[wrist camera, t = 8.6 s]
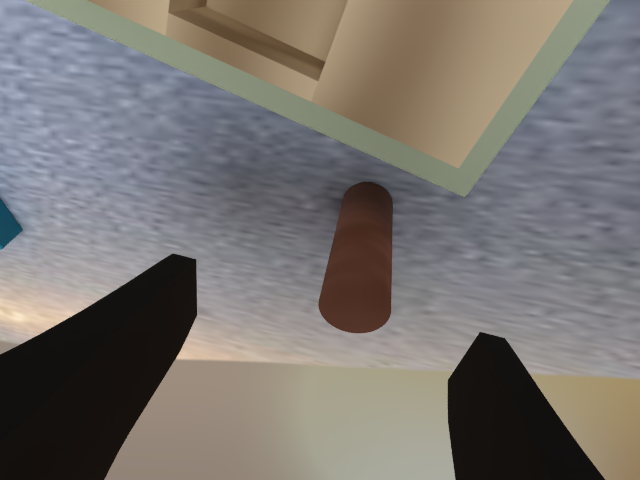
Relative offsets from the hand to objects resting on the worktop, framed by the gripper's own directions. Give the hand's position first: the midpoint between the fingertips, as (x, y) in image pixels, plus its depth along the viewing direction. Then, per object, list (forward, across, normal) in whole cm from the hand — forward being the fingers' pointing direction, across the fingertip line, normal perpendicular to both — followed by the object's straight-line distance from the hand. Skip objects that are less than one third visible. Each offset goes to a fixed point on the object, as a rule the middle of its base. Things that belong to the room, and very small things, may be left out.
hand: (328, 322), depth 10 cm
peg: (+9, -1, +2) cm, 10 cm away
